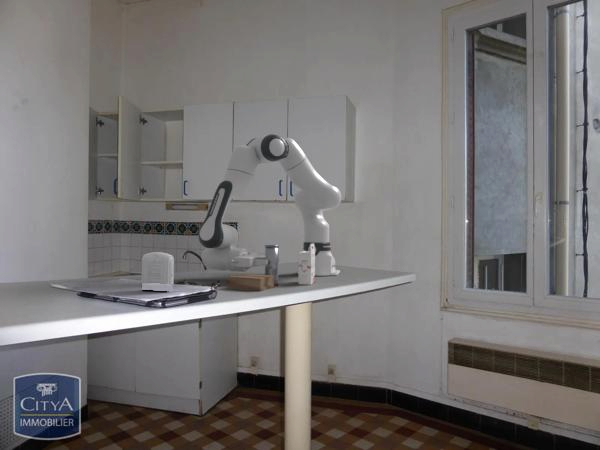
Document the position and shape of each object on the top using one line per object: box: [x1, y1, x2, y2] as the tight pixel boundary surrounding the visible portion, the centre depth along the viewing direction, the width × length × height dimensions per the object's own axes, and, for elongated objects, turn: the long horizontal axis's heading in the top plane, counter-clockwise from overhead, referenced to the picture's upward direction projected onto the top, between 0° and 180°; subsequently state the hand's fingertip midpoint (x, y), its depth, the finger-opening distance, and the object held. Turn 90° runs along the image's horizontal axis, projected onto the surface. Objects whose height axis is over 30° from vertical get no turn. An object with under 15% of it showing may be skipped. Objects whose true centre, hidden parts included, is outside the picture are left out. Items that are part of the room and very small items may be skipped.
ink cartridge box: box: [297, 244, 316, 286], centre depth 160 cm, size 9×5×15 cm, turn 168°
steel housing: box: [264, 244, 280, 285], centre depth 160 cm, size 5×5×14 cm
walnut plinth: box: [227, 273, 275, 292], centre depth 145 cm, size 10×12×4 cm
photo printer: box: [140, 251, 175, 285], centre depth 136 cm, size 10×4×12 cm, turn 78°
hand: (273, 261), depth 159 cm, fingers open, 8 cm apart
